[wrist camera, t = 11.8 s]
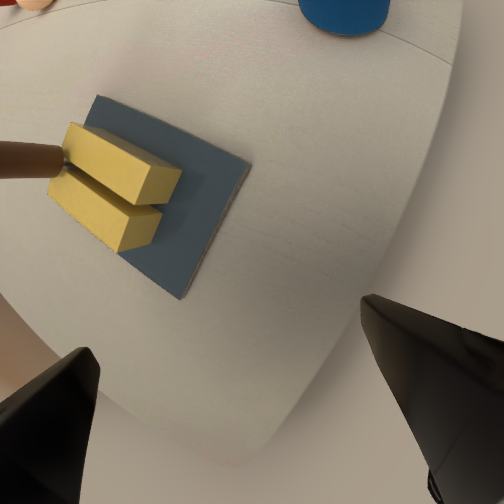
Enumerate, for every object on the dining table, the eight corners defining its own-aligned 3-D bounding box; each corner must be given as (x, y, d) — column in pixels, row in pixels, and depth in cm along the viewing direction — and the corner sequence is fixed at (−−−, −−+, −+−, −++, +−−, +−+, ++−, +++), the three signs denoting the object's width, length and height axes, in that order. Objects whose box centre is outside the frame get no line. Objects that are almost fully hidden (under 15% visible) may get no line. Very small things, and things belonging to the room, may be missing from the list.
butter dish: (252, 164, 19) (227, 154, 15) (184, 297, 22) (150, 319, 18) (102, 96, 22) (65, 84, 17) (62, 202, 25) (25, 206, 20)
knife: (107, 156, 21) (-9, 146, 11) (96, 183, 22) (-17, 185, 11) (76, 138, 22) (-25, 127, 11) (68, 163, 22) (-33, 160, 12)
